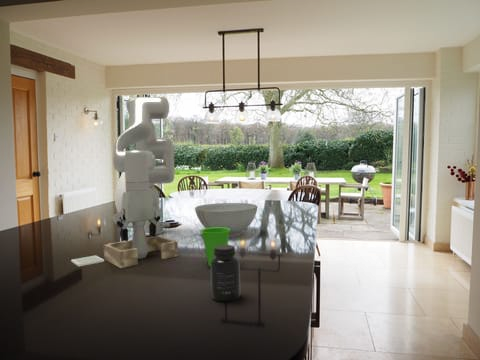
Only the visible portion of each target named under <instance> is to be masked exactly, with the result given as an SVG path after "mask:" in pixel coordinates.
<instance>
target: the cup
mask: <svg viewBox="0 0 480 360" xmlns="http://www.w3.org/2000/svg"><path fill="white" fill-rule="evenodd" d="M229 231H230V229H229V228H225V227H211V228H205V227H204V228H202V229H201V230H200V232H201V235H202V240H203V245H204V251H205V256H206V262H207V266H208V267H210V268H211V261H212V259H213V258H215V256H214V247H216V246H219V245H229V238H230V237H229Z"/></svg>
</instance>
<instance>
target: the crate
mask: <svg viewBox="0 0 480 360" xmlns="http://www.w3.org/2000/svg"><path fill="white" fill-rule="evenodd" d="M146 239H147V244H148V249H149V250H148V253H149V252H155V251H158V252H160V254H161V255H160V257H161V259H162V260H166V259H171V258H175V257H179V248H178V247H179V245H178V241H177V240H173V239H170V238H167V237H164V236H161V235H155V237H153V236H146ZM132 240H133V239H130V240H129V239H128V241H124V240H122V241H118V242H117V241H116V242H110V243H105V244H103V259H104V261H106V262H109V263H110V264H112V265H114V266H115V267H118V268H120V269H123V268H127V267H128V268H129V267H133V266H138V265H139V261H138V260H139V259H138V253H137V249H136V248H134V249H131V247H132Z"/></svg>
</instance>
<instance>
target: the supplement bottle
mask: <svg viewBox="0 0 480 360" xmlns="http://www.w3.org/2000/svg"><path fill="white" fill-rule="evenodd" d="M214 256H215V258H213V259H212V261H211V267H210V285H211V286H210V287H211V289H210V292H211V298H212V299H213V300H214V301H216V302H220V303H229V302H234V301H236V300H238V299H239V298H240V297H241V274H240V273H241V269H240V266H241V264H240V260H239V258H238V257H236V250H235V246H234V245H232V244H228V245H219V246H216V247H214Z"/></svg>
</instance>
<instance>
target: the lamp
mask: <svg viewBox="0 0 480 360" xmlns="http://www.w3.org/2000/svg"><path fill="white" fill-rule="evenodd" d="M123 192H126V185H125V172H121V175H120V177H119V179H118V181H117V183H116V186H115V191H114V204H115V208H116V212H117V213H118V212H120V211H121V206H122V196H123ZM126 228H134V226H133V225H132V222H130V223H129V224H128V226H127V227H126Z"/></svg>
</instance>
